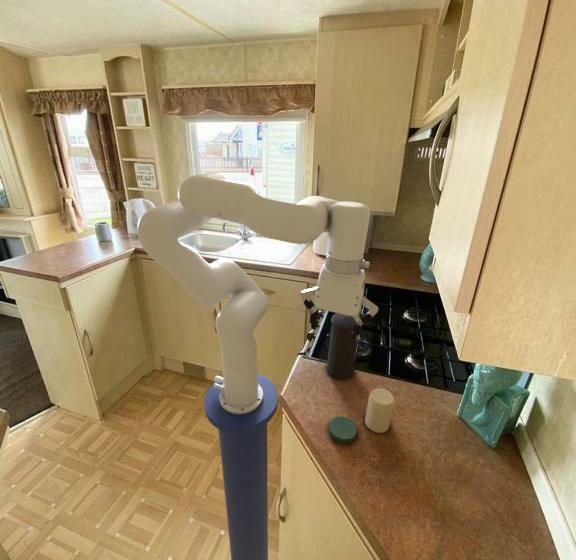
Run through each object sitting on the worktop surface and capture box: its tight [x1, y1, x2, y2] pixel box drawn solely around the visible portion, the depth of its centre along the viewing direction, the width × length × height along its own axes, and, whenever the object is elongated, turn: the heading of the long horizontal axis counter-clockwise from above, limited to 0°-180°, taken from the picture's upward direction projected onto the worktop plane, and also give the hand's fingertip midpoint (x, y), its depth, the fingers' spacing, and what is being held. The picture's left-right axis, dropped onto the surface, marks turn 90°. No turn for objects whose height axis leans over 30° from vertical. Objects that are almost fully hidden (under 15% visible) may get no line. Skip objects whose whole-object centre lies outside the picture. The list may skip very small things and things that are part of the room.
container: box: [326, 313, 359, 380], centre depth 95 cm, size 9×9×20 cm
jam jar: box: [364, 387, 395, 434], centre depth 80 cm, size 6×6×9 cm
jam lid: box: [328, 415, 358, 444], centre depth 78 cm, size 7×7×2 cm
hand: (334, 331), depth 73 cm, fingers open, 9 cm apart
